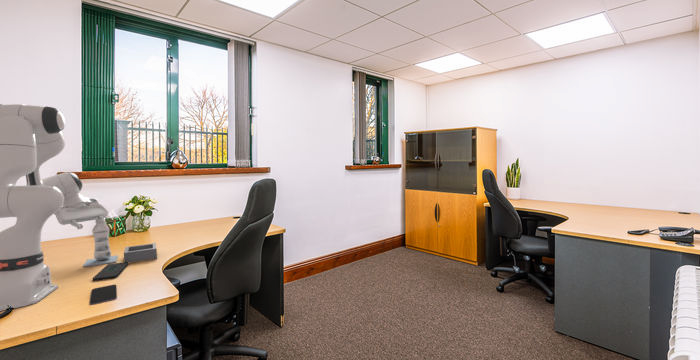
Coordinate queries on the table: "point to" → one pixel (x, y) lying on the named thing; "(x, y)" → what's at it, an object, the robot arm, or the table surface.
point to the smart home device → (110, 271)
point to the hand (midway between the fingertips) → (91, 226)
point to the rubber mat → (100, 261)
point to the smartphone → (103, 294)
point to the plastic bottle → (101, 240)
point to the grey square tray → (140, 253)
